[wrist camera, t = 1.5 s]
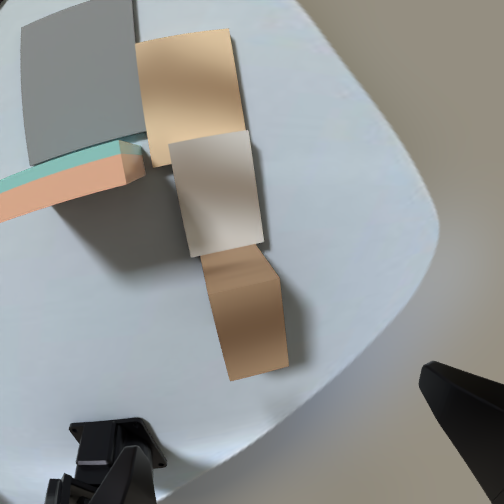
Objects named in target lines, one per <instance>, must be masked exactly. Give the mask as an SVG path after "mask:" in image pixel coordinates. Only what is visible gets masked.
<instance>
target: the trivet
mask: <svg viewBox="0 0 504 504" xmlns="http://www.w3.org/2000/svg"><path fill="white" fill-rule="evenodd" d="M135 44H136V39H135V28H134V16H133V2H132V0H90V1H87V2H84V3H81V4H78V5H75V6H72V7H69V8H67V9H64V10H61V11H59V12H56V13H54V14H51V15H49V16H46V17H44V18H42V19H39V20H37V21H35V22H33V23H30V24H28V25H26V26H24V27H22V28H21V91H22V106H23V117H24V127H25V135H26V143H27V150H28V156H29V163H30V166H33V165H36V164H39V163H41V162H44V161H47V160H50V159H53V158H56V157H59V156H62V155H65V154H68V153H71V152H74V151H77V150H80V149H83V148H87V147H90V146H93V145H97V144H100V143H104V142H107V141H111V140H115V139H118V138H122V137H126V136H130V135H134V134H138V133H142V132H146V125H145V118H144V112H143V105H142V98H141V91H140V83H139V75H138V67H137V59H136V49H135Z"/></svg>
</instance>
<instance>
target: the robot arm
mask: <svg viewBox="0 0 504 504" xmlns="http://www.w3.org/2000/svg"><path fill="white" fill-rule="evenodd" d="M419 388H420V390H421V392H422V394H423V395H424V397H425V399H426V401H427V403H428V404H429V406H430V408H431V410H432V412H433V414H434V416H435V418H436V419H437V421H438V423H439V424H440V426H441V427H442V428H443V430H444V431H445V433H446V434H447V436H448V437H449V439H450V440H451V441H452V443H453V445H454V446H455V447H456V449H457V450H458V452H459V453H460V455H461V456H462V458H463V459H464V461H465V462H466V464H467V465H468V467H469V468H470V470H471V471H472V473H473V475H474V476H475V478H476V479H477V481H478V482H479V484H480V485H481V487H482V489H483V490H484V492H485V493H486V495H487V496H488V498H489V500H490V501H491V503H492V504H504V384H501V383H498V382H495V381H492V380H489V379H486V378H483V377H480V376H477V375H474V374H471V373H468V372H465V371H462V370H459V369H456V368H453V367H451V366H448V365H445V364H442V363H439V362H436V361H431V362H429V363H427V364H425V365H423V367H422V370H421V374H420V379H419ZM69 430H70V432H71V433H72V435H73V436H74V437H75V439H76V440H77V441H78V443H79V449H78V454H77V458H76V464H77V467H76V472H75V478H72V476H70V475H68V474H65V473H64V475H63V477H62V479H50V480H49V484H48V488H47V493H46V498H45V504H157V503H156V497H155V491H154V485H153V469H155V468H164V467H166V466H167V461H166V459H165V457H164V456H163V454H162V453H161V451H160V449H159V448H158V446H157V445H156V443H155V441H154V440H153V438H152V436H151V435H150V433H149V431H148V429H147V428H146V426H145V424H144V422H143V421H142V420H141V419H139V418H128V419H119V420H109V421H97V422H83V423H71V424H70V427H69Z"/></svg>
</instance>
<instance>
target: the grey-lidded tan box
mask: <svg viewBox="0 0 504 504" xmlns="http://www.w3.org/2000/svg"><path fill="white" fill-rule="evenodd" d="M168 146H169V152H170V158H171V163H172V169H173V174H174V179H175V184H176V189H177V195H178V200H179V204H180V209H181V214H182V219H183V224H184V228H185V233H186V238H187V242H188V247H189V251H190V255H191V258H192V257H196V256H200V257H201V262H202V267H203V272H204V277H205V282H206V287H207V291H208V296H209V300H210V304H211V309H212V313H213V317H214V321H215V325H216V329H217V333H218V337H219V341H220V345H221V349H222V353H223V357H224V360H225V364H226V368H227V372H228V376H229V379H230V381H234V380H238V379H242V378H246V377H250V376H254V375H258V374H262V373H266V372H270V371H273V370H277V369H280V368H284V367H288V366H289V361H288V351H287V341H286V332H285V322H284V313H283V304H282V295H281V286H280V278H279V277H278V275H277V274H276V272H275V271H274V269H273V268H272V267H271V265H270V264H269V262H268V261H267V260H266V258H265V257H264V255H263V254H262V253H261V251H260V250H259V248H258V247H257V246H256V244H257V243H262V242H264V237H263V230H262V222H261V215H260V208H259V201H258V194H257V186H256V179H255V172H254V165H253V158H252V151H251V144H250V137H249V131H248V130H244V131H238V132H231V133H225V134H219V135H213V136H207V137H201V138H196V139H191V140H185V141H180V142H175V143H171V144H168Z"/></svg>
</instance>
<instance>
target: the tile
mask: <svg viewBox="0 0 504 504" xmlns="http://www.w3.org/2000/svg"><path fill="white" fill-rule="evenodd" d="M145 175H146V172H145V167H144V161H143V156H142V150H141V146H139V145H135V144H132V143H128V142H124V141H121V140H116V141H113V142H109V143H105V144H102V145H98V146H95V147H91V148H88V149H85V150H82V151H78V152H75V153H72V154H69V155H66V156H63V157H60V158H57V159H54V160H51V161H48V162H45V163H43V164H40V165H37V166H34V167H32V168H29V169H26V170H24V171H21V172H19V173H16V174H14V175H11V176H9V177H6V178H4V179H2V180H0V223H1V222H4V221H7V220H10V219H13V218H15V217H18V216H21V215H24V214H27V213H30V212H33V211H36V210H39V209H42V208H45V207H48V206H52V205H55V204H58V203H61V202H65V201H68V200H71V199H75V198H78V197H82V196H85V195H89V194H92V193H96V192H100V191H103V190H107V189H111V188H115V187H119V186H122V185H126V184H129V183H131V182H133V181H135V180H137V179H139V178H141V177H143V176H145Z"/></svg>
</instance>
